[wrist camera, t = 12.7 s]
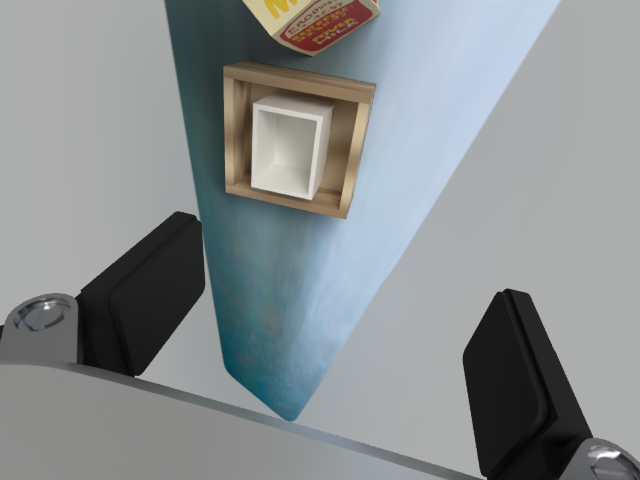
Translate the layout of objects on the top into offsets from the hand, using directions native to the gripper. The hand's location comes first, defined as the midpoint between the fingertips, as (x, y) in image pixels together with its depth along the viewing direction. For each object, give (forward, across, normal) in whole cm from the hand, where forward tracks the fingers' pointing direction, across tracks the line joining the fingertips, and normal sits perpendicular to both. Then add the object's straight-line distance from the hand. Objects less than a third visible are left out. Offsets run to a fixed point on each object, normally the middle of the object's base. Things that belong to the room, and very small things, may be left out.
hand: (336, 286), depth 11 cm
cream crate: (+32, +9, +6) cm, 34 cm away
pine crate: (+33, +9, +6) cm, 35 cm away
